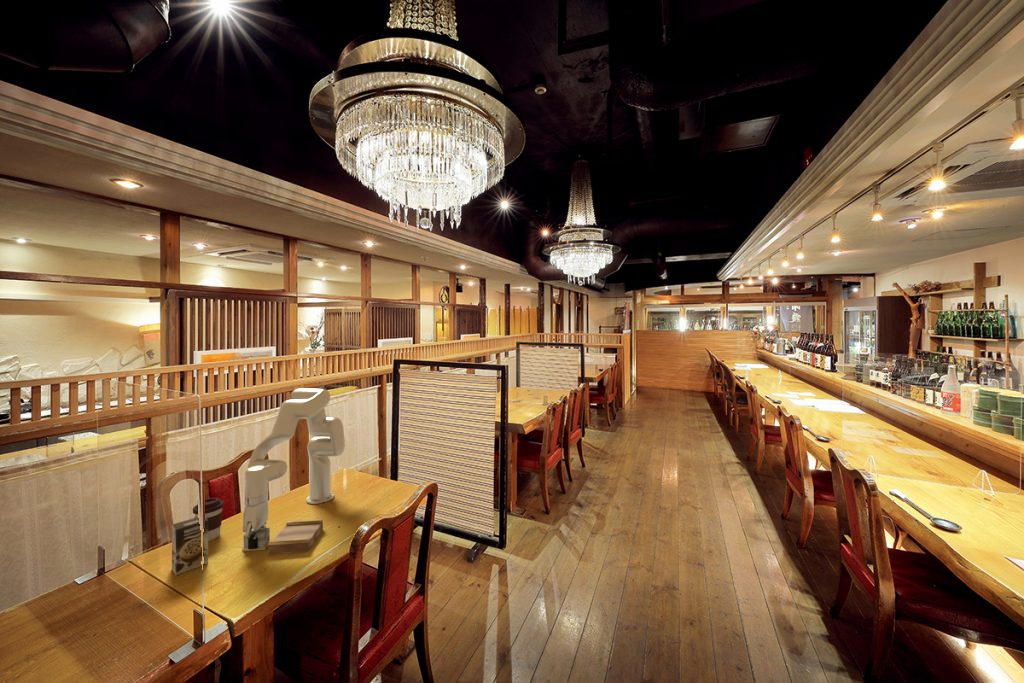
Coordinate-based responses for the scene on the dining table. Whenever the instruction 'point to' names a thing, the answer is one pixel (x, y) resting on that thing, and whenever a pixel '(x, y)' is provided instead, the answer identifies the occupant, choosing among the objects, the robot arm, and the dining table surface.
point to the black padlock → (259, 539)
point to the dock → (296, 536)
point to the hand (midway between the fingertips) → (256, 544)
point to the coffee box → (188, 545)
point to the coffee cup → (212, 516)
